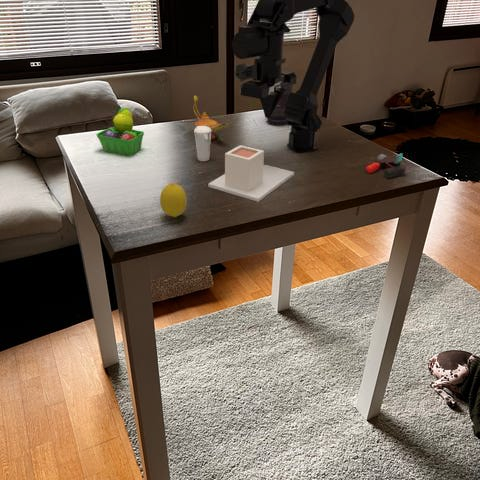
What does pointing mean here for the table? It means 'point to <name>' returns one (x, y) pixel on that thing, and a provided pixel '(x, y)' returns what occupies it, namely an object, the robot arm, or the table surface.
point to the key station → (249, 175)
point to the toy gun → (388, 166)
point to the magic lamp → (207, 121)
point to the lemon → (173, 200)
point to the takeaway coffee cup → (203, 142)
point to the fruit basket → (121, 135)
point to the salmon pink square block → (245, 153)
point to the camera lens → (280, 107)
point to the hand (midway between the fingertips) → (267, 117)
